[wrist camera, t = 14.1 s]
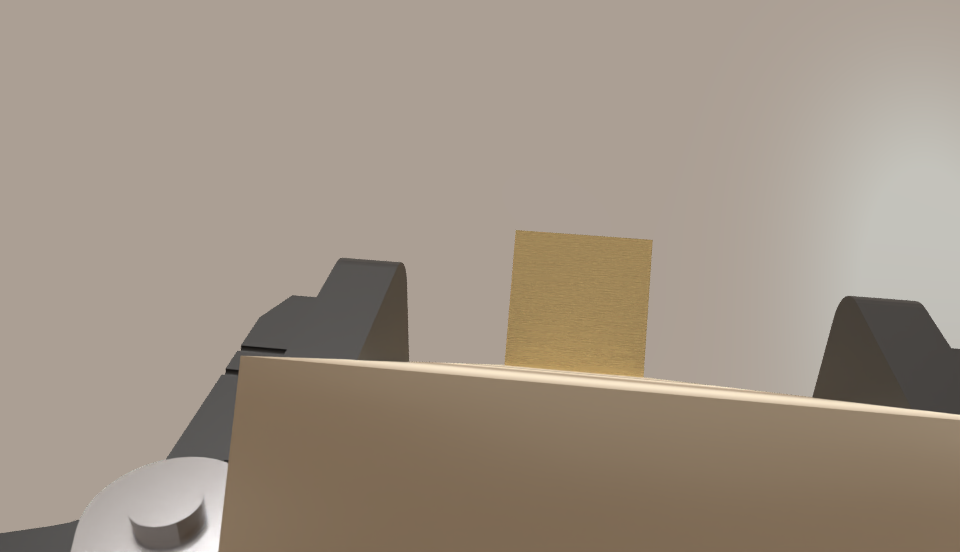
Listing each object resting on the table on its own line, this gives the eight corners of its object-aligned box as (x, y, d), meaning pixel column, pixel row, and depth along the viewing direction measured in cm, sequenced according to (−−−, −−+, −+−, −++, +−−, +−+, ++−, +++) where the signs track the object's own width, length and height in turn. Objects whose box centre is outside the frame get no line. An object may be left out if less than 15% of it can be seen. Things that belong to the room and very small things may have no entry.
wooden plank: (500, 429, 32) (506, 365, 33) (631, 442, 32) (635, 376, 32) (188, 796, 5) (240, 356, 5) (1132, 931, 4) (1136, 435, 5)
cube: (511, 365, 32) (521, 249, 32) (630, 376, 32) (638, 257, 32) (504, 365, 28) (515, 230, 28) (643, 377, 27) (652, 240, 28)
